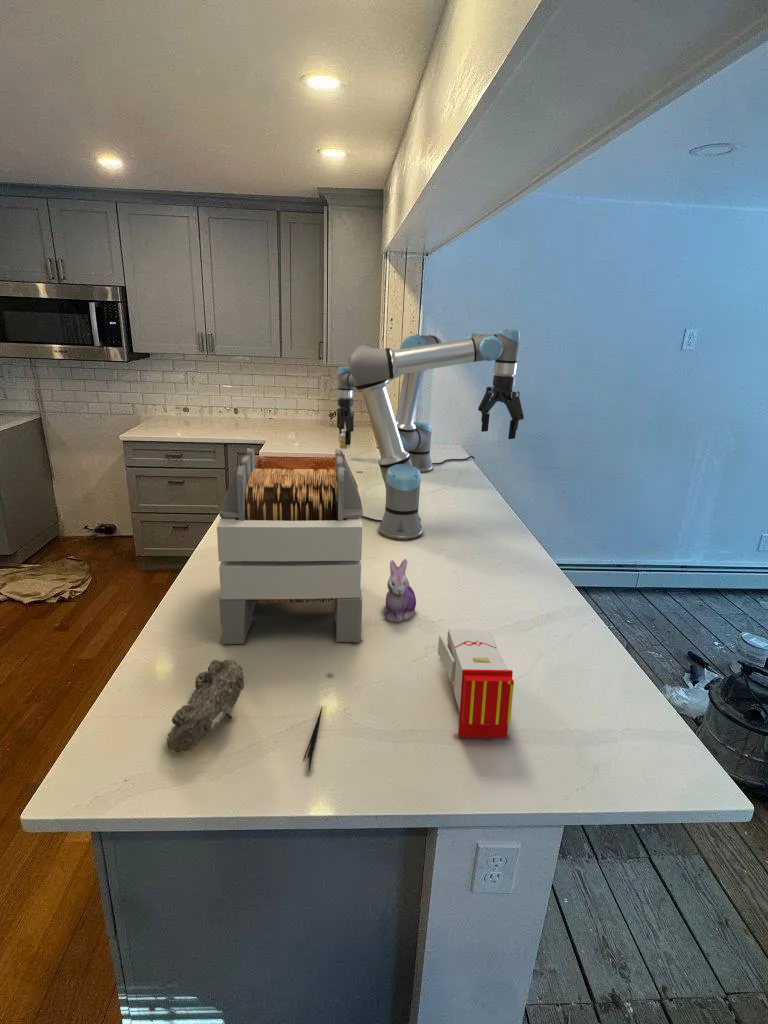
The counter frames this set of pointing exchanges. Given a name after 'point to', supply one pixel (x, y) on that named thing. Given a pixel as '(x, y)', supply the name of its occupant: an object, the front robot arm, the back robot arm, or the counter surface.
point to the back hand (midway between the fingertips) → (344, 443)
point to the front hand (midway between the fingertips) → (497, 435)
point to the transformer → (290, 544)
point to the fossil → (206, 705)
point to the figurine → (399, 594)
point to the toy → (478, 682)
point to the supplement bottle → (343, 440)
